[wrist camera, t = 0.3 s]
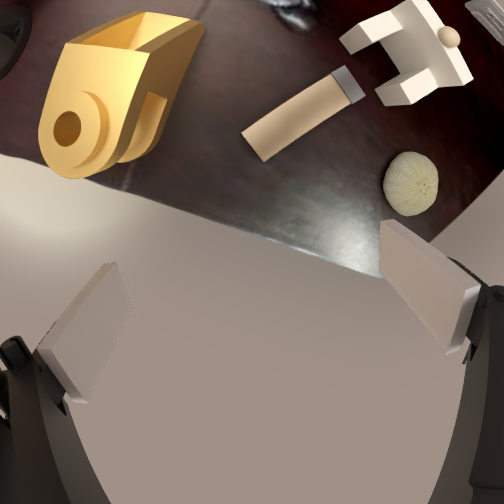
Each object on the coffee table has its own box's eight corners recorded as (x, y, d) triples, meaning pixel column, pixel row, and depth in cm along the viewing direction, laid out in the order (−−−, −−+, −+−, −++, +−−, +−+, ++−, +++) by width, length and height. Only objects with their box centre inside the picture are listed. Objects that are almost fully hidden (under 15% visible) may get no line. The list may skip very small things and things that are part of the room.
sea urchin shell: (369, 185, 35) (420, 163, 28) (377, 155, 39) (420, 134, 32) (402, 232, 38) (450, 217, 31) (406, 198, 42) (447, 183, 35)
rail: (240, 132, 34) (240, 132, 28) (328, 74, 31) (344, 65, 25) (260, 157, 36) (264, 163, 30) (345, 99, 33) (365, 95, 27)
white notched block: (338, 38, 29) (385, 3, 16) (378, 20, 27) (432, -12, 14) (385, 106, 33) (448, 103, 20) (420, 83, 31) (485, 78, 18)
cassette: (503, 41, 25) (529, 39, 18) (502, 47, 26) (528, 45, 19) (464, 1, 23) (489, -7, 16) (463, 7, 24) (489, -2, 17)
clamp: (151, 167, 35) (97, 194, 21) (93, 150, 34) (21, 169, 19) (205, 30, 28) (184, -26, 14) (143, 18, 26) (94, -30, 12)
